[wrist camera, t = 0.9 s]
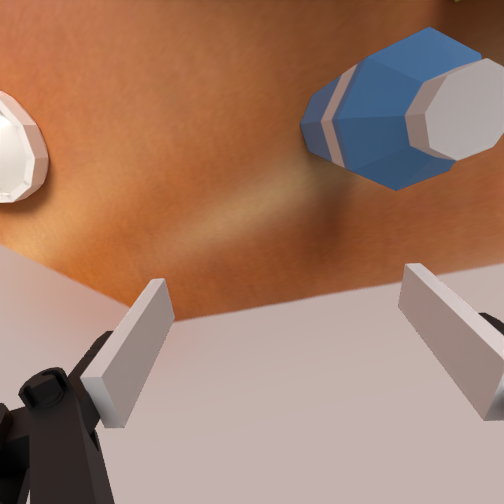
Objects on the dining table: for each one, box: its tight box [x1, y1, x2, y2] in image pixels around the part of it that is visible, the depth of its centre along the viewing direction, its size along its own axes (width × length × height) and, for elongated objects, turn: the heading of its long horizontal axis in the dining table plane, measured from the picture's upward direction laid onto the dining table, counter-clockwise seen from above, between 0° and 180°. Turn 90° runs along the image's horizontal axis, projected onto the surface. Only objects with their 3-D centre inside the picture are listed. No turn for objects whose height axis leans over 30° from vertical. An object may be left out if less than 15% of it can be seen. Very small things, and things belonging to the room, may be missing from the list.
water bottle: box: [300, 26, 504, 191], centre depth 24 cm, size 9×9×25 cm
